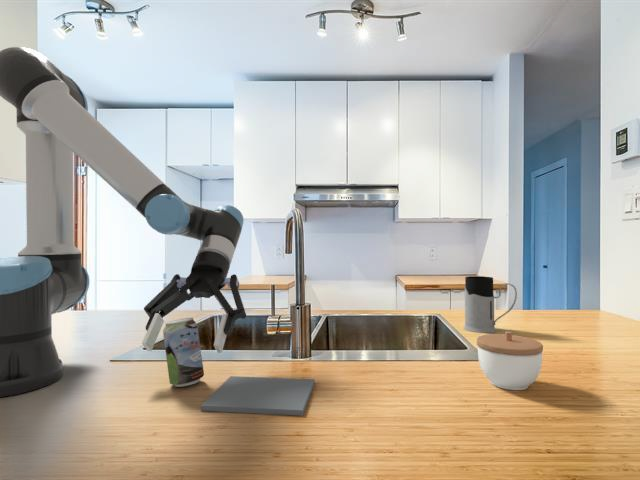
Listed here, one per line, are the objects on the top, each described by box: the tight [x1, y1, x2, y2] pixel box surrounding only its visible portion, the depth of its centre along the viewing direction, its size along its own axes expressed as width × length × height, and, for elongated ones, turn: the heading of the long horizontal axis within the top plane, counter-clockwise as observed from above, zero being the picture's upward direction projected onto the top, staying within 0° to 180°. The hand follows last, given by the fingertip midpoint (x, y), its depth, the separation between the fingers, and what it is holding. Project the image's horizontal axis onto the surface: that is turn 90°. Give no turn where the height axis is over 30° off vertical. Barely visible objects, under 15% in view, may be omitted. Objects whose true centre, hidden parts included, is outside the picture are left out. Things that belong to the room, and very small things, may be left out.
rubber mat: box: [200, 375, 316, 417], centre depth 66 cm, size 16×13×1 cm
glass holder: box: [463, 275, 518, 334], centre depth 111 cm, size 9×14×15 cm, turn 54°
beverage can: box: [162, 317, 205, 388], centre depth 72 cm, size 6×7×12 cm
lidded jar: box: [476, 331, 544, 391], centre depth 70 cm, size 11×11×9 cm
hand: (181, 348), depth 70 cm, fingers open, 13 cm apart
